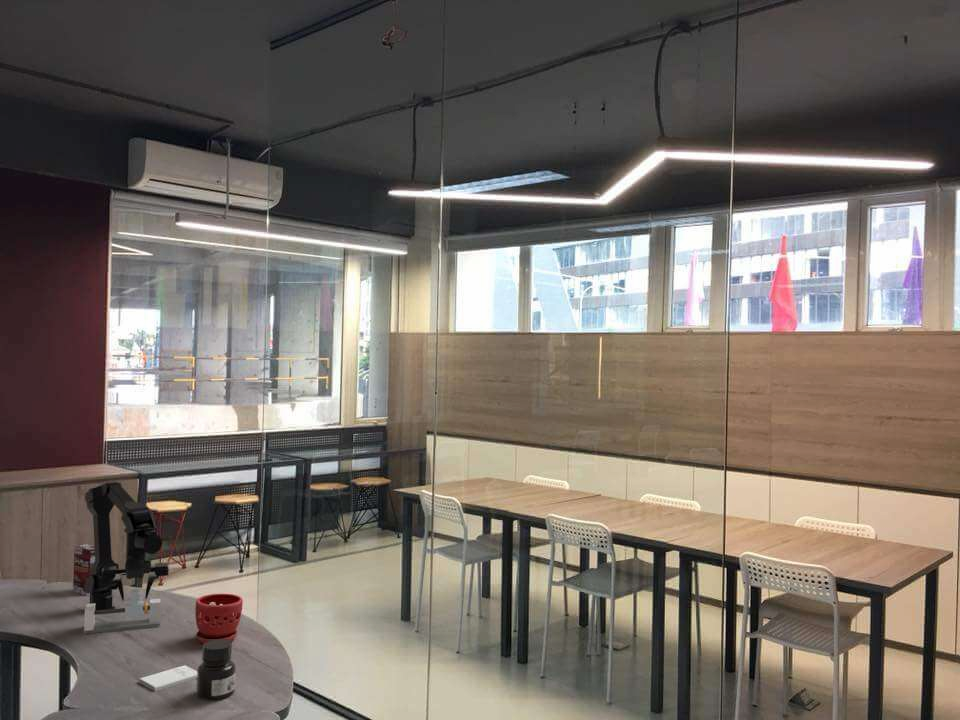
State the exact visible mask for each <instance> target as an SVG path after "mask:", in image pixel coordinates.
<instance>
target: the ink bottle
mask: <svg viewBox="0 0 960 720" xmlns="http://www.w3.org/2000/svg"><path fill="white" fill-rule="evenodd" d="M232 647H233V643H232V642H231V641H227V640H213V641H209V642H206V643H202V653H201V654H202V655H201V656H202V660H201V661H202V662H201V664H200V665H199V666H198V667H197V670H196V671H197V678H196V696H197V698H199V699H201V700H208V701H218V700H222V699H225V698H227V697H230V696H231V695H233V694H234V693H235V690H236V689H235V688H236V664H235V662H234V661H233V660H231V659H232V652H233V651H232Z"/></svg>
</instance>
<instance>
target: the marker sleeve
mask: <svg viewBox="0 0 960 720" xmlns="http://www.w3.org/2000/svg"><path fill="white" fill-rule="evenodd" d="M143 606H144V600H139V588H132V589H131V590H130V601H128V602H127V601H125V605H124V608H125V612H124V618H136V617H137V618H140V617H144V610H143Z"/></svg>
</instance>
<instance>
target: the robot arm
mask: <svg viewBox="0 0 960 720" xmlns="http://www.w3.org/2000/svg"><path fill="white" fill-rule="evenodd" d="M84 500H85V502H86V507H87V510H88V511H89V512H90V514H91V515H92V521H93V525H92V526H93V543H94V545H93V546H95V562H94V564H93V566H92V567H91V569H90V577H89V578H88V580H87V582H86V583H85V585H84V588H85V592H87V593H89V594H90V595H89V604H95V611H97V610H109V609H116V606H114V605H113V601H114V600H113V597H114V596H113V591H115V590H118V591H119V594H120V595H119V596H120V599H121V601H124V600H125V590H124V581H123V578H124V577H123V576H126V579H127V580H132V579H143V578H144V576H145V574H148V576H147V583H146V588H145V596H144V598H145V599H146V600H147V599H148V597H149V595H150V591H151V588H152V586H153V584H154V582H155V581H156V580H159V579H160V577H165V576H167V577H168V576H169V569H170V568H169V564H168V563H167V562H159V563H158V562H156V563H154V566H152V560H151V559H149V560H147V554H149V555H155V554H156V553H158V552H159V551H161V549H162V547H163V540H162V538H161V536H159V535H158V534H157V523H156V520H155V518H154V516H153V514H152V510H151V509H150V508H149V507H148V506H147V505H146V504H144V503H140V502H137V501H135V499H134V498H132V496H131V495H130V494H129V493H128V492H127V491H126V490H125V488H124V487H123V485H122V483H121V482H119V481H111V482H104V483H103V484H101V485H98V486H96V487H91V488H89V489H88V491H86V492H85V495H84ZM114 506H115V507H116V508H117V509H118V510H119V511H120V513H121V514H122V515H121V521H122V523H123V525H124V526H125V528H124V533H126V543H125V545H126V546H125V564H124V568H119V564H118V562H117V563H116V562H115V561H114V560H113V557H112V538H111V537H112V536H111V521H110V520H111V519H110V516H111V515H110V513H111V512H112V510H113V508H114Z"/></svg>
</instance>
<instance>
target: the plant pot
mask: <svg viewBox="0 0 960 720" xmlns="http://www.w3.org/2000/svg"><path fill="white" fill-rule="evenodd" d="M243 601H244V600H243V597H241V595H237V594H232V593H212V594H206V595H205V594H204V595H202V596H200V597H198V598H196V600H195V608H194V609H195V613H194V614H195V624H196V627H197V630H198V631H196V634H195V638H196V640H197V641H198V642H200V643H202V644H205V643H206V642H209V641H213V640H227V641H230V642H231V641H233V640H234V639H235V638H236V637H237V636H238V630H237V628H238V626H239V624H240V621H241V617H242V613H243V612H242V611H243ZM211 603H214V604H211Z"/></svg>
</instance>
